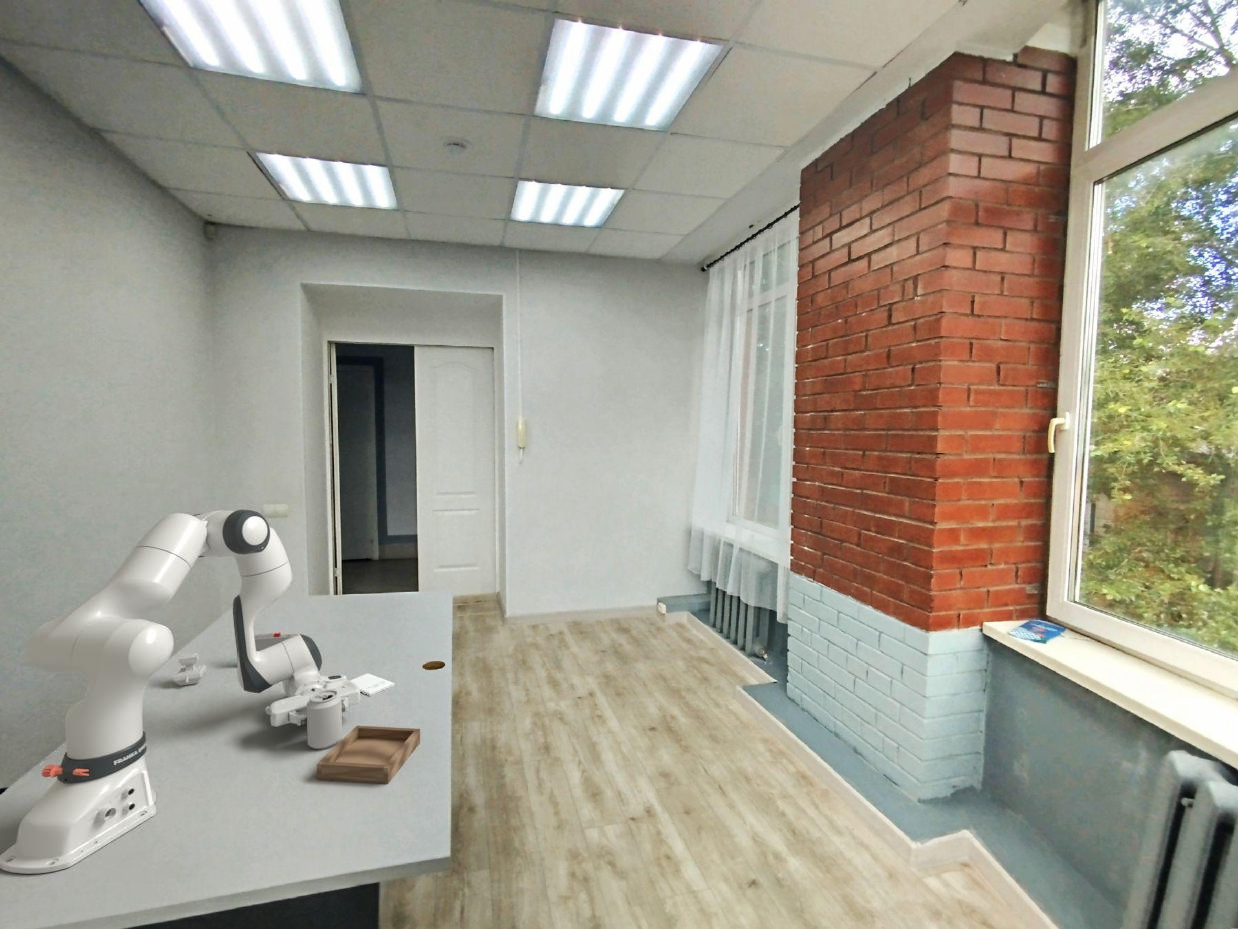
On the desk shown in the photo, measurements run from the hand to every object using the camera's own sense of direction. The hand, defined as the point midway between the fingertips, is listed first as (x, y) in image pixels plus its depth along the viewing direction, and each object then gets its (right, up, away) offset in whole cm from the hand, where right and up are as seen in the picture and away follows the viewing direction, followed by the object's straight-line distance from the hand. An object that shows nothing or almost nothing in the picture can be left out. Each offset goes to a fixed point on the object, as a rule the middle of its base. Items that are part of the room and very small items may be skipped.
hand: (323, 715), depth 137 cm
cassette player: (-41, -4, +45) cm, 61 cm away
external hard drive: (-2, -5, +30) cm, 31 cm away
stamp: (-56, -4, +31) cm, 65 cm away
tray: (+15, -7, -7) cm, 18 cm away
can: (0, -7, 0) cm, 7 cm away
